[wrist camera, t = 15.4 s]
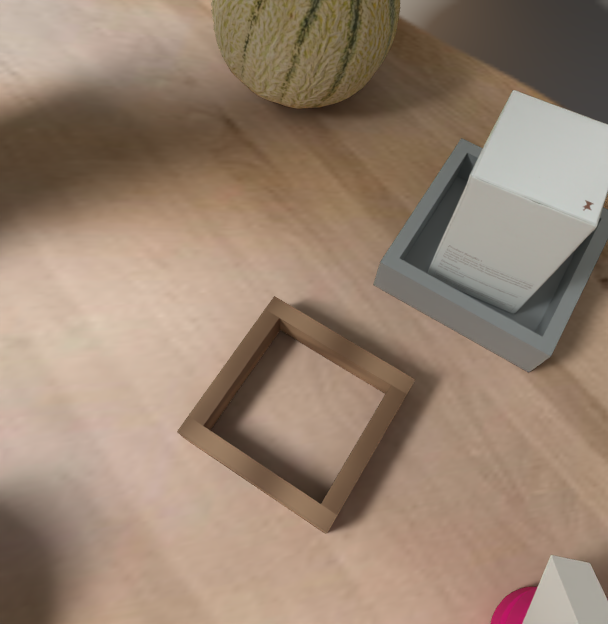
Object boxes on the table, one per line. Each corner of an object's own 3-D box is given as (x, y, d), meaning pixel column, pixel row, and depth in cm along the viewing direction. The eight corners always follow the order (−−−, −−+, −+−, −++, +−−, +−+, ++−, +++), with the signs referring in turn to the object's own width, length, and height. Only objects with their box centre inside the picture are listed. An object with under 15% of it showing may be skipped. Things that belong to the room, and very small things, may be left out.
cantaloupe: (189, 82, 51) (149, -92, 37) (299, -2, 55) (301, -185, 41) (309, 175, 47) (315, 21, 33) (417, 78, 51) (463, -95, 37)
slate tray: (373, 284, 43) (380, 262, 40) (449, 168, 47) (461, 138, 44) (528, 372, 41) (550, 356, 37) (593, 240, 45) (619, 215, 41)
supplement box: (545, 240, 44) (635, 131, 32) (513, 318, 41) (599, 229, 30) (457, 202, 45) (514, 84, 33) (421, 276, 43) (469, 175, 31)
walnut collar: (184, 438, 38) (177, 431, 36) (275, 309, 42) (274, 296, 40) (325, 533, 36) (327, 533, 34) (408, 389, 40) (415, 379, 38)
